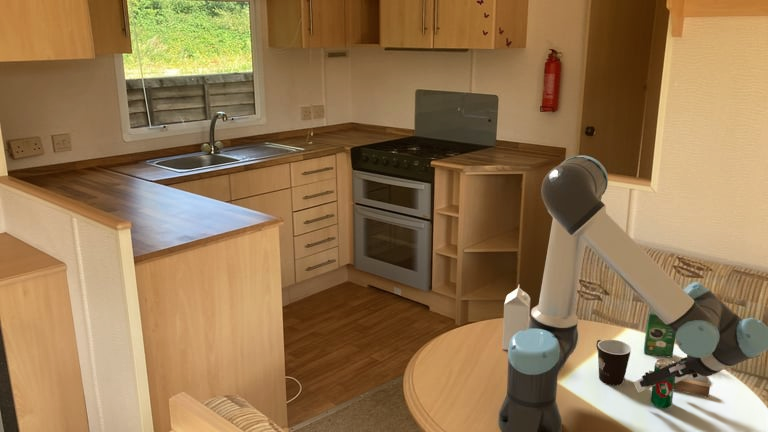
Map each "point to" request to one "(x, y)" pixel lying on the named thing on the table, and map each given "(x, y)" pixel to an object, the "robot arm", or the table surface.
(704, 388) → the rail
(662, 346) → the coffee box
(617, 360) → the coffee mug
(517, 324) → the milk carton
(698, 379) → the grey domed button
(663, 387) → the soda can
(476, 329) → the table surface
